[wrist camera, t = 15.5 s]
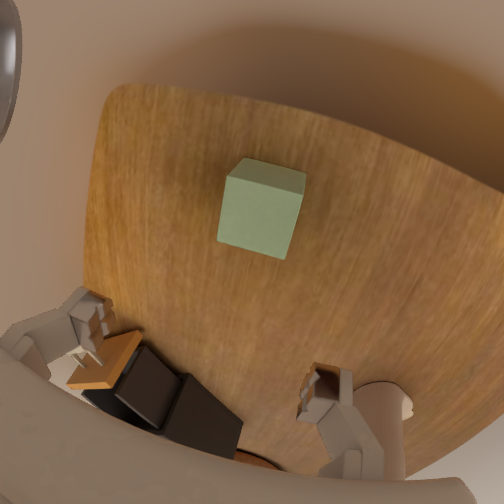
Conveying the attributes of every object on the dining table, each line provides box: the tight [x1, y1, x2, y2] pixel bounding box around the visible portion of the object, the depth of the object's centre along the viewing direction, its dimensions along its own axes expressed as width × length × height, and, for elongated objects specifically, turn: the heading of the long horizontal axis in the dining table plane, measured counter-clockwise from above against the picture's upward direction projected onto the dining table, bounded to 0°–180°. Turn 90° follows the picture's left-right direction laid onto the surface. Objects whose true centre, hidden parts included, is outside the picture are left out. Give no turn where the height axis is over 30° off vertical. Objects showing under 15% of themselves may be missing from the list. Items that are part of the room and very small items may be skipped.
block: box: [217, 157, 306, 260], centre depth 22 cm, size 5×5×5 cm
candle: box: [353, 382, 414, 481], centre depth 28 cm, size 7×14×20 cm, turn 46°
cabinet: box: [142, 373, 243, 460], centre depth 41 cm, size 15×13×11 cm
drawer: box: [65, 330, 182, 430], centre depth 36 cm, size 18×11×9 cm, turn 31°
